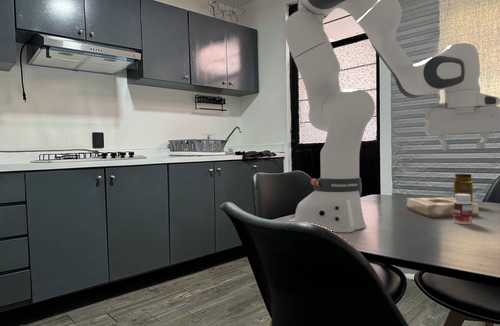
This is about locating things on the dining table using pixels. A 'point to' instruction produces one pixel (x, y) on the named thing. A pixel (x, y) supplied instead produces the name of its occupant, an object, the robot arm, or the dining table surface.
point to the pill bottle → (462, 209)
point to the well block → (436, 206)
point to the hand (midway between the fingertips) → (463, 149)
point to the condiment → (463, 184)
